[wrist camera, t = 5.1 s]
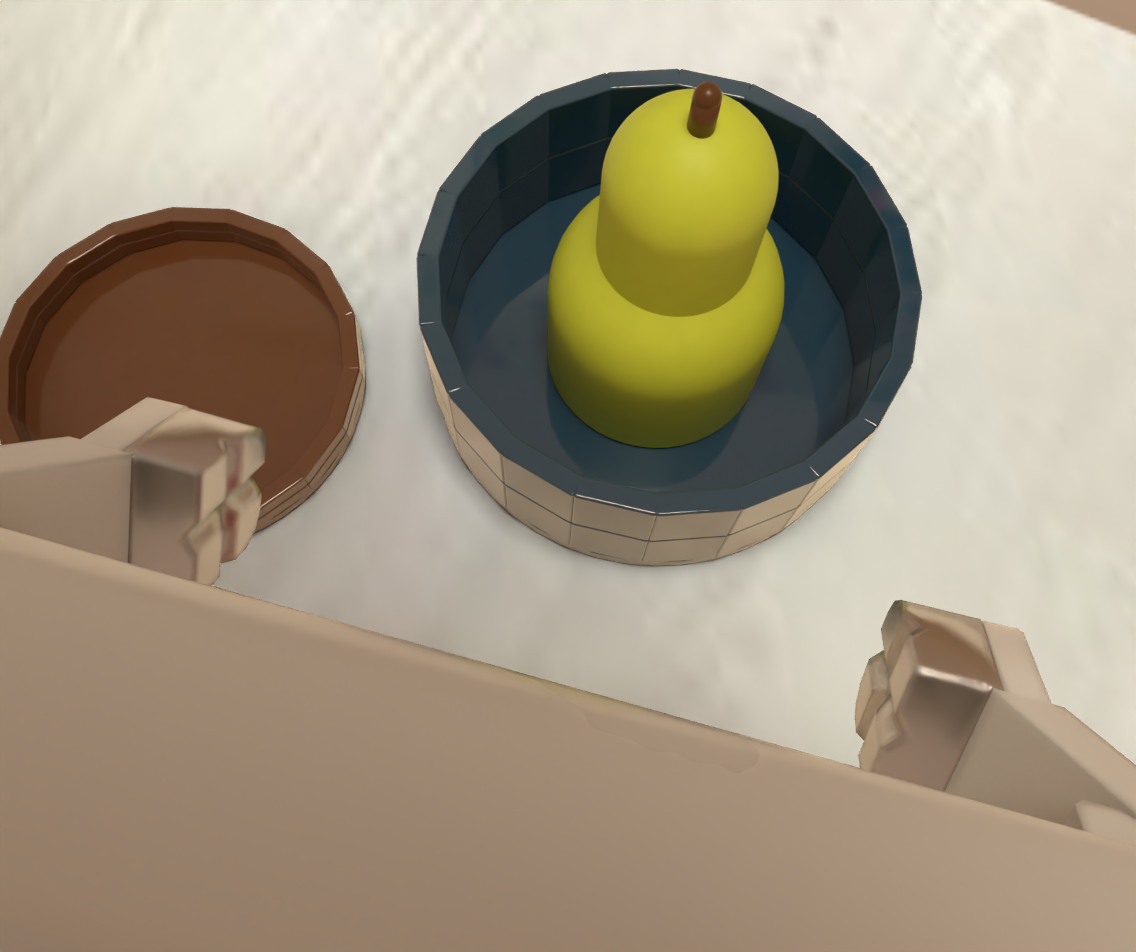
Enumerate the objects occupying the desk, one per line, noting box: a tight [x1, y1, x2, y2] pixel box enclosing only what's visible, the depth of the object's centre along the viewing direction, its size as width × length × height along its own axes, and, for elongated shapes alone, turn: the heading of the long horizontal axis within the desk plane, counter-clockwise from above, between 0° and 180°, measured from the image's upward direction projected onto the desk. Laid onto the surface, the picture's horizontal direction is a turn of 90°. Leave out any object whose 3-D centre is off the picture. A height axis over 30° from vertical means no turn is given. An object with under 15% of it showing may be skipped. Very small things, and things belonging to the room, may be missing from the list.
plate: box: [0, 207, 365, 533], centre depth 32 cm, size 10×10×2 cm
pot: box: [417, 69, 922, 566], centre depth 31 cm, size 13×13×5 cm
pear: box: [547, 82, 784, 448], centre depth 27 cm, size 6×6×12 cm
